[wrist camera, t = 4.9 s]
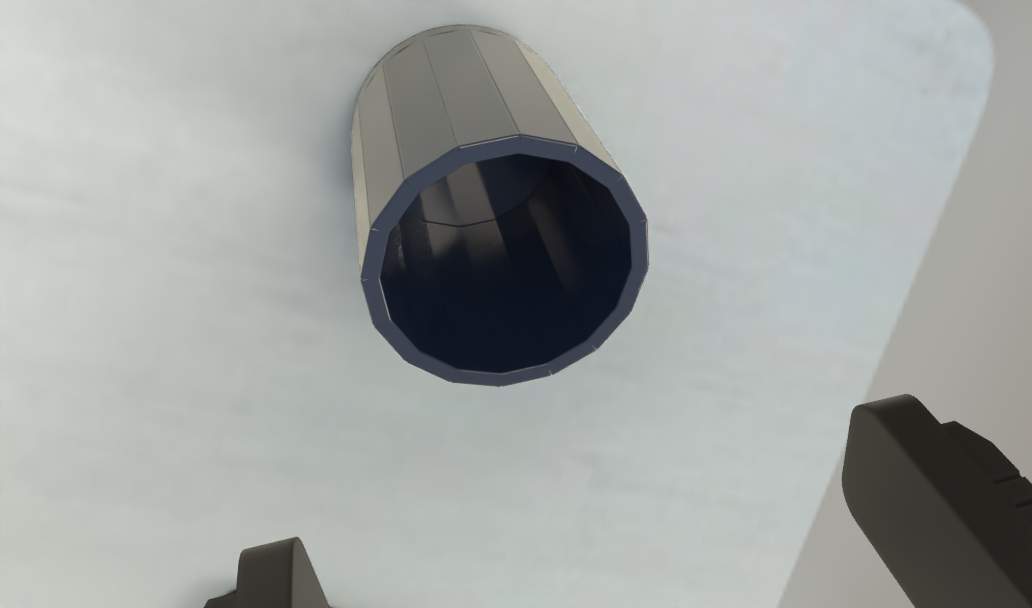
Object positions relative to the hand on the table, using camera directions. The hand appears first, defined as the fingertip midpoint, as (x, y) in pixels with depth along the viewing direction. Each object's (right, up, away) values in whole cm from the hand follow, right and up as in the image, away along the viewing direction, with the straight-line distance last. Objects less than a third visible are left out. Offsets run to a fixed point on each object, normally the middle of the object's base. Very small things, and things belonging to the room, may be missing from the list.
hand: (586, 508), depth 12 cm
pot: (-3, +8, +11) cm, 14 cm away
